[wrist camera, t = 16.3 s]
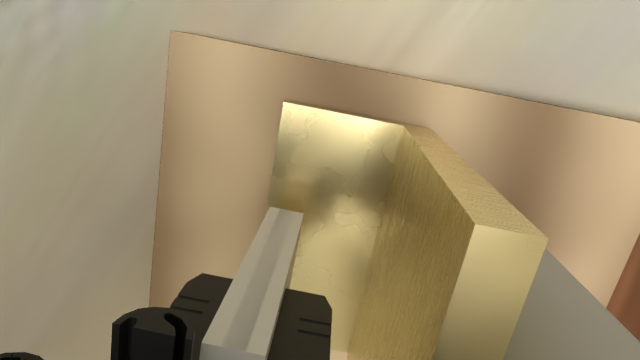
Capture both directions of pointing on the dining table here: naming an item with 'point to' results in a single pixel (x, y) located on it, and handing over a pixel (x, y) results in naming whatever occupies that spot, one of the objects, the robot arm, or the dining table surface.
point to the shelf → (399, 106)
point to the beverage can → (567, 322)
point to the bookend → (401, 238)
